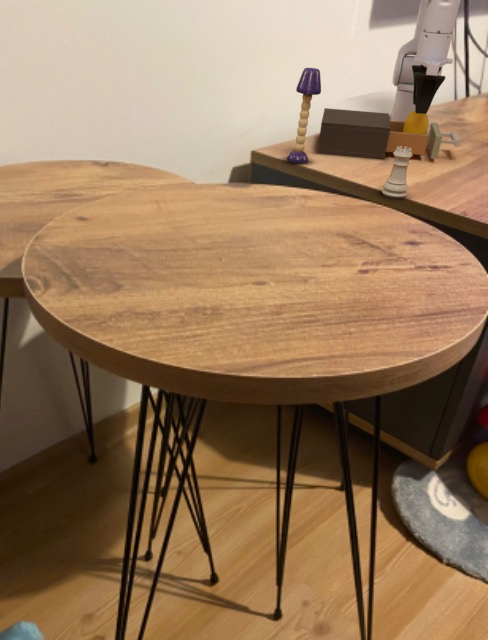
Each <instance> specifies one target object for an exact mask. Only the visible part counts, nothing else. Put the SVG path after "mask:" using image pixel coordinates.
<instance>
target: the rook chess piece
mask: <svg viewBox="0 0 488 640" xmlns="http://www.w3.org/2000/svg"><path fill="white" fill-rule="evenodd" d="M411 151H412V149H411V148H408V150H407V147H404V149H402V146H399V147H397V148H396V151H395V152H392V154H393V156H394V159H393V161H392V168H391V171H390V174H389V176H388V178H386V181H385V182H384V183H383V185H382V186H383V188H382V189H381V192H382V195H383V196H384V197H387V198H391V199H403V198H405V197H406V196H407V195H408V192H407V191H408V190H409V185H408V184H407V183H408V181H407V172H408V167H409V165H410V163H409V161H410V159H411V158H412V157H413V155H414V154H412V153H411Z"/></svg>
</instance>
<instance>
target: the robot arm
mask: <svg viewBox="0 0 488 640" xmlns="http://www.w3.org/2000/svg"><path fill="white" fill-rule="evenodd" d="M461 1H462V0H420V1H419V2H420V3H419V9H418V13H417V19H416V24H415V29H414V35H413V38H412V39H410V40H409V41H407V42H405V43H404V44H402V45H401V47H400V48H399V49H398V52H397V57H396V60H395V65H394V69H393V75H392V84H393V86H394V87H396V91H395V98H394V102H393V107H392V111H391V115H390V121H400V122H405V119H406V117H407V116H408V115H409V114H410V113H411V112H413V111H415V112H416V113H420V114H426V115H427V113H428V111H429V110H430V107H431V106H432V102H433V101H434V98H435V96H436V94H437V92H438V90H439V89H440V87H441V85H442V84H443V83H444V81H445V80H446V75H442V72H443V68H444V66H445V65H447V64H448V65H452V64H453V61H454V59H453V58H450V57H448V55H449V50H450V47H451V43H452V38H453V34H454V30H455V26H456V22H457V18H458V15H459V9H460V5H461Z"/></svg>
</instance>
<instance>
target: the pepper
mask: <svg viewBox="0 0 488 640" xmlns="http://www.w3.org/2000/svg"><path fill="white" fill-rule="evenodd" d="M428 125H429V116H428V115H427V113H426V114H420V113H416V112H415V111H413V112H411V113H410V114H409V115H408V116H407V117H406V119H405V123H404V127H403V133H414V134H426V135H427V131H428Z"/></svg>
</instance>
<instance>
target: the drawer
mask: <svg viewBox="0 0 488 640" xmlns="http://www.w3.org/2000/svg"><path fill="white" fill-rule="evenodd" d="M404 123H405V122H400V121H391V120H390V128H391V129H390V133H389V138H388V143H387V148H386V153H394V152H395V151H396V148H397V147H399V146H402V149H404V147H407V150H408V148H411V149H412V151H411V153H412V155H418V156H425V153H426V149H427V150H428V155H429V157H430V159H435V160H437V159H438V157H439V151H440V147H441V144H449V145H450V144H451V145H453V146H454V147H457V148H458V147H460V146H461V144H462V140H461V139H460V136H459V134H458V132H457V131H455V130H454V131H452V132H442V131H441V129H440V127H439V123H438V122H431V123H430V127H429V130H428V134H427V133H426V134H414V133H403V127H404ZM443 137H446V138H450V139H443Z"/></svg>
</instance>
